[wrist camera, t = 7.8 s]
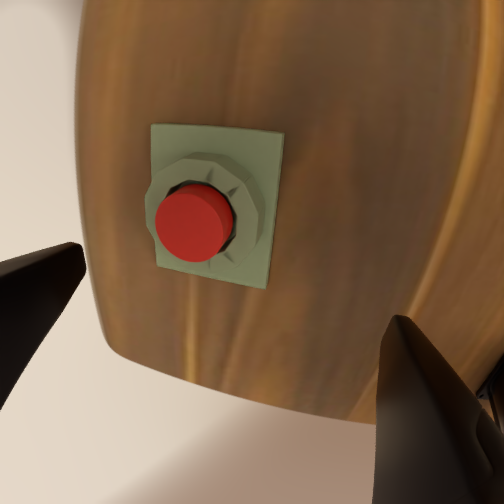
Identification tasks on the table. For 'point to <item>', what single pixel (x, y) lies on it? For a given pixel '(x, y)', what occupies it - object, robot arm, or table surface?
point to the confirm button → (194, 222)
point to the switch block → (221, 192)
